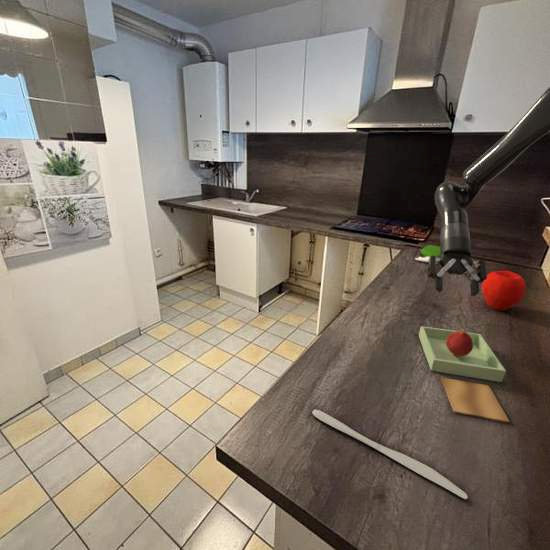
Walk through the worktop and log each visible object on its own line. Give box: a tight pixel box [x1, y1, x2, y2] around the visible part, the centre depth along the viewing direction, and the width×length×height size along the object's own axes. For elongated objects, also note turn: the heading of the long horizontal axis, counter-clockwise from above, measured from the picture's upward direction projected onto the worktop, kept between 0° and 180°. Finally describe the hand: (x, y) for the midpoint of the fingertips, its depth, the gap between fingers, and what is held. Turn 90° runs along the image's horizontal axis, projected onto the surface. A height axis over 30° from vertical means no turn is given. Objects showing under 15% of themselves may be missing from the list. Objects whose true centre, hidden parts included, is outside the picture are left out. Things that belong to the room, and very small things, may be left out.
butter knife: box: [311, 409, 469, 500], centre depth 52 cm, size 1×27×3 cm
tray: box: [418, 325, 507, 383], centre depth 76 cm, size 15×15×3 cm
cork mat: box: [440, 377, 510, 424], centre depth 63 cm, size 10×10×1 cm
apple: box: [481, 270, 527, 312], centre depth 98 cm, size 12×12×13 cm
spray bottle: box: [414, 244, 441, 264], centre depth 149 cm, size 3×11×24 cm
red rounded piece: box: [446, 328, 473, 356], centre depth 75 cm, size 6×6×8 cm
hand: (456, 293), depth 80 cm, fingers open, 8 cm apart
